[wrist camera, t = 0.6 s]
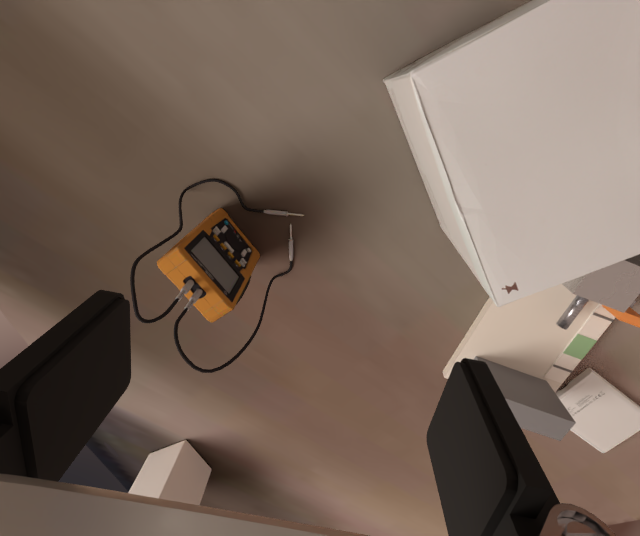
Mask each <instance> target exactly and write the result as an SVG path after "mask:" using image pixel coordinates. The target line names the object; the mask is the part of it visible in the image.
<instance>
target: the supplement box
mask: <svg viewBox="0 0 640 536" xmlns="http://www.w3.org/2000/svg"><path fill="white" fill-rule="evenodd" d="M383 82H384V83H385V84H386V87H387V89H388V92H389V95H390V97H391V100H392V102H393V105H394V107H395V110H396V113H397V115H398V118H399V120H400V123H401V125H402V128H403V131H404V133H405V136H406V138H407V141H408V143H409V146H410V149H411V151H412V154H413V156H414V159H415V162H416V164H417V167H418V169H419V172H420V174H421V177H422V180H423V182H424V185H425V187H426V190H427V193H428V195H429V198H430V200H431V203H432V205H433V208H434V211H435V213H436V216H437V218H438V221H439V223H440V227H441V228H442V230H443V231H444V232H445V234H446V235H447V237H448V238H449V239H450V241H451V242H452V244H453V245H454V246H455V248H456V249H457V251H458V252H459V253H460V255H461V256H462V258H463V259H464V261H465V262H466V263H467V265H468V266H469V268H470V269H471V271H472V272H473V273H474V275H475V276H476V278H477V279H478V281H479V282H480V283H481V285H482V286H483V288H484V289H485V291H486V292H487V293H488V295H489V296H490V297H491V299H492V300H493V302H494V303H495V305H496V306H497V307H501V306H503V305H506V304H508V303H511V302H513V301H516V300H518V299H521V298H523V297H526V296H529V295H532V294H534V293H537V292H540V291H543V290H545V289H548V288H551V287H554V286H556V285H559V284H562V283H564V282H567V281H570V280H573V279H575V278H578V277H581V276H583V275H586V274H589V273H591V272H594V271H596V270H599V269H602V268H604V267H607V266H610V265H612V264H615V263H618V262H620V261H623V260H625V259H628V258H631V257H633V256H636V255H639V254H640V0H531V1H529V2H527V3H525V4H523V5H521V6H519V7H517V8H516V9H514V10H512V11H510V12H508V13H506V14H504V15H502V16H500V17H499V18H497V19H495V20H493V21H491V22H489V23H487V24H485V25H483V26H482V27H480V28H478V29H476V30H474V31H472V32H470V33H468V34H466V35H464V36H462V37H460V38H458V39H456V40H454V41H452V42H450V43H448V44H446V45H445V46H443V47H441V48H439V49H437V50H435V51H433V52H431V53H429V54H428V55H426V56H424V57H422V58H420V59H418V60H416V61H414V62H413V63H411V64H409V65H407V66H405V67H404V68H402V69H400V70H398V71H396V72H394V73H393V74H391V75H389V76H387V77H386V78H384V79H383Z"/></svg>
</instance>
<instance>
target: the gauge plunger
mask: <svg viewBox="0 0 640 536" xmlns="http://www.w3.org/2000/svg"><path fill="white" fill-rule="evenodd" d="M562 285H564V286H565V287H566V288H567V289H568V290H569V291H570V292H572V293H573V294H575V295H577V296H576V297H575V298H574V300H573V301H572V302H571V304H570V305H569V306H568V308H567V309H566V311H565V312H564V313H563V315H562V316H561V317H560V319H559V320H558V321H557V323H556V324H557V325H558V326H559V327H561V328H563V329H565V330H567V329H568V327H569V326H570V325H571V323H572V322H573V321H574V319H575V318H576V317H577V316H578V314H579V313H580V312H581V310H582V309H583V308H584V306H585V305H586V304H587V302H588V301H589V300H591V301H594V302H596V303H599V304H602V305H604V306H607V307H610V308H612V309H615V310H618V311H620V312H623V313H625V311H626V310H627V309H628V308H629V307H632V306H633V305H634V304H635V303H636V301H635V299H636V298H637V297H638V295H639V294H640V254H639V255H636V256H633V257H631V258H628V259H625V260H623V261H620V262H618V263H615V264H612V265H610V266H607V267H604V268H602V269H599V270H596V271H594V272H591V273H589V274H586V275H583V276H581V277H578V278H575V279H573V280H570V281H567V282H564V283H562Z"/></svg>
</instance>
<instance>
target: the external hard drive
mask: <svg viewBox="0 0 640 536" xmlns="http://www.w3.org/2000/svg"><path fill="white" fill-rule="evenodd" d="M555 393H556V395H557V396H558V398H559V399H560V401H561V402H562V403H563V405H564V406H565V408H566V409H567V411H568V412H569V414H570V415H571V416H572V418H573V419H574V421H575V422H576V424H575V425H574V426H573V427H572V428H571V429H570V430H571V431H572V432H574V433H575V434H577V435H578V436H579V437H581V438H582V439H583V440H585V441H586V442H588V443H589V444H590V445H592V446H593V447H595V448H596V449H597V450H599V451H600V452H601V453H605V452H607V451H609V450H610V449H612V448H614V447H615V446H617V445H618V444H620V443H621V442H623V441H624V440H626V439H627V438H629V437H630V436H632V435H634V434H635V433H637V432H638V431H640V406H639V405H637V404H636V403H635V402H634V401H632V400H631V399H630V398H628V397H627V396H626V395H624V394H623V393H622V392H621V391H619V390H618V389H617V388H616V387H614V386H613V385H612V384H610V383H609V382H608V381H607V380H605V379H604V378H603V377H601V376H600V375H599V374H598V373H596V372H595V371H594V370H592V369H591V368H590V367H589V368H587V369H586V370H585V371H583V372H582V373H581V374H579V375H578V376H577V377H575V378H574V379H573V380H571V381H570V382H569V383H568V385H567V386H565V387H564V388H563V389H561V390H558V391H556V392H555Z"/></svg>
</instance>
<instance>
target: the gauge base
mask: <svg viewBox="0 0 640 536" xmlns="http://www.w3.org/2000/svg"><path fill="white" fill-rule="evenodd" d="M576 296H577V295H575V294H573V293H572V292H570V291H569V290H568V289H567V288H566V287H565V286H564V285H562V284H559V285H556V286H554V287H551V288H548V289H545V290H543V291H540V292H537V293H534V294H532V295H529V296H526V297H523V298H521V299H518V300H516V301H513V302H511V303H508V304H506V305H503V306H501V307H497V306H496V305H495V303H494V302H493V300H492V299H491V297H489V298H488V300H487V302H486V303H485V305H484V306H483V308H482V310H481V311H480V313H479V314H478V316H477V318H476V319H475V321H474V322H473V324H472V325H471V327H470V329H469V330H468V332H467V333H466V335H465V337H464V338H463V340H462V341H461V343H460V344H459V346H458V348H457V349H456V351H455V352H454V354H453V356H452V357H451V359H450V360H449V362H448V363H447V365H446V367H445V368H444V370H443V371H442V372H443V375H444V377H445V378H447V379H448V378H449V376H450V373H451V371H452V368H453V366H454V364H455V363H456V362H461V360H462V359H463V358H468V359H473V360H479V361H484V362H486V364H487V365H488V367H489V369H490V371H491V373H492V375H493V377H494V379H495V380H496V382H497V384H498V386H499V388H500V390H501V392H502V394H503V396H504V398H505V399H506V401H507V403H508V405H509V407H510V409H511V411H512V413H513V415H514V417H515V418H516V420H517V422H518V424H519V426H520V428H523V429H526V430H529V431H532V432H535V433H538V434H541V435H544V436H547V437H550V438H553V439H556V440H559V441H561V440H562V438H563V437H564V436H565V435H566V434H567V433H568V432H569V430H570V429H571V428H572V427H573V426H574V425H575V424H576V422H575V421H574V419H573V418H572V416H571V415H570V414H569V412H568V411H567V409H566V408H565V406H564V405H563V403H562V402H561V401H560V399H559V398H558V396H557V395H556V393H555V392H556V391H557V389H558V388H559V387H560V386H561V385H562V383H563V382H564V381H565V380H566V378H567V377H568V376H569V375H570V373H572V371H573V370H574V368H575V367H576V366H577V365H578V363H579V362H580V361H581V360H582V359H583V358H584V356H585V355H586V354H587V353H588V352H589V350H590V349H591V348H592V347H593V345H594V344H595V343H596V342H597V340H598V339H599V337H600V336H601V335H602V334H603V333H604V331H605V330H606V329H607V328H608V326H609V325H610V324H611V323H612V322H613V321H614V319H615V318H616V317H615V316H613V315H612V314H611V313H610V312H609V311H607V310H606V309H605V308H604V307H603V306H602V304H599V303H596V302H594V301H591V300H589V301H588V302H587V304H586V305H585V306H584V308H583V309H582V310H581V312H580V313H579V314H578V316H577V317H576V318H575V319H574V321H573V322H572V323H571V325H570V326H569V327H568V329H567V330H565V329H563V328H561V327H559V326H558V325H557V324H556V323H557V321H558V320H559V319H560V317H561V316H562V315H563V313H564V312H565V311H566V309H567V308H568V306H569V305H570V304H571V302H572V301H573V300H574V298H575V297H576Z"/></svg>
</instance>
